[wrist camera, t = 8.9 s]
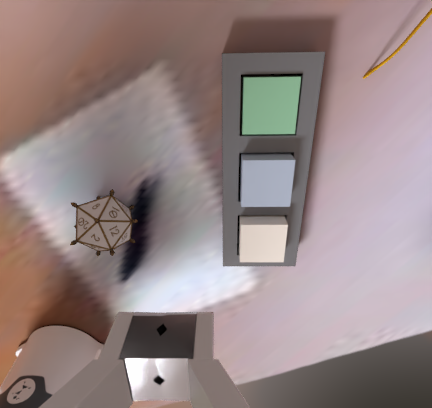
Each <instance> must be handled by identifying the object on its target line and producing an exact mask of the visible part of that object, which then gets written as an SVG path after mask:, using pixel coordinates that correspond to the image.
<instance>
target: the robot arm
mask: <svg viewBox="0 0 432 408" xmlns="http://www.w3.org/2000/svg"><path fill="white" fill-rule="evenodd" d="M16 356H17V358H16V360H15V362H14V364H13V365H12V367H11V369H10V371H9V373H8V374H7V376H6V378H5V380H4V381H3V383H2V385H1V387H0V408H129V407H130V406H131V405H132V401H154V400H169V401H191V405H192V407H193V408H250V407H249V405H248V404H247V402H246V401H245V399H244V398H243V396H242V395H241V393H240V392H239V390H238V389H237V387H236V386H235V384H234V383H233V381H232V380H231V378H230V377H229V375H228V374H227V372H226V371H225V369H224V368H223V366H222V365H221V363H220V362H219V360H218V359H214V314H213V312H198V313H197V312H167V313H151V312H119V313H118V314H117V315H116V317H115V320H114V322H113V325H112V327H111V329H110V332H109V334H108V337H107V339H106V342H105V344H101V343H99V342H97V341H96V340H95V339H93V338H92V337H91V336H89V335H88V334H86V333H84V332H82V331H80V330H77V329H74V328H70V327H65V326H46V327H42V328H40V329H37V330H36V331H34V332H33V333H32V334H31V335H30V337H29V339H28V341H27V342H26V343H24V344H23V345H21V346H19V347H18V349H17V351H16Z"/></svg>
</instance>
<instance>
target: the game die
mask: <svg viewBox="0 0 432 408" xmlns="http://www.w3.org/2000/svg"><path fill="white" fill-rule="evenodd" d="M113 194H114V191H113V189H112V190H111V191H110V195H109V196H106V197H103V198H100V197H99V196H97V200H93V201H90V202H87V203H84V204H81V205H77V203H71V204H72V206H74V207H76V225H75V226H74V227H75V228H76V240H74V241H72V242H71V244H70V245H75V244H76V243H77V242H79V243H81V244H83V245H86V246H88V247H90V248H92V249H95V250H97V252H96V254H97V256H99V255H100V251H109V250H110V255H112V256H113V255H114V253H115V252H114V251H113V249H115V248H117V247H119V246H120V245H122V244H124V243H126V242H127V241H130V242H132V243H135V241H134V240H133V239H131V230H132V223H136V222H137V220H136V219H133V220H132V216H131V211H130V210H132V209H134V206H132V205H131V206H130V207H129V208H128V207H127V206H126V205H124V204H123V203H122V202H120V201H119V200H118V199H116V198H115V197H114V196H113Z"/></svg>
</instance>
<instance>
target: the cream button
mask: <svg viewBox="0 0 432 408" xmlns="http://www.w3.org/2000/svg"><path fill="white" fill-rule="evenodd" d="M287 229H288V224H287V221H286V219H285V216H284V215H239V259H240V262H284V255H285V246H286V237H287Z"/></svg>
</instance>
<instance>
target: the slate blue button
mask: <svg viewBox="0 0 432 408" xmlns="http://www.w3.org/2000/svg"><path fill="white" fill-rule="evenodd" d="M294 168H295V159H294V157H293V156H292V155H291V153H290V152H269V153H241V175H240V201H241V207H290V203H291V194H292V185H293V177H294Z"/></svg>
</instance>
